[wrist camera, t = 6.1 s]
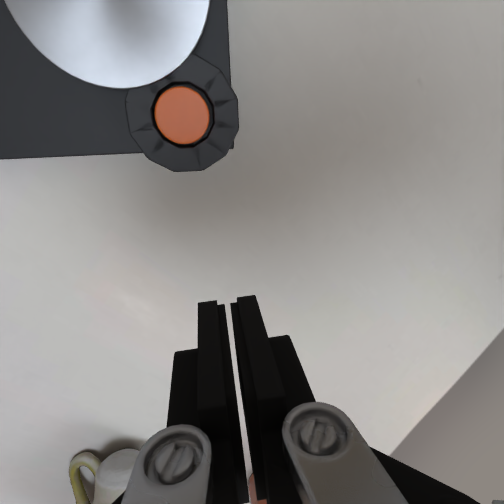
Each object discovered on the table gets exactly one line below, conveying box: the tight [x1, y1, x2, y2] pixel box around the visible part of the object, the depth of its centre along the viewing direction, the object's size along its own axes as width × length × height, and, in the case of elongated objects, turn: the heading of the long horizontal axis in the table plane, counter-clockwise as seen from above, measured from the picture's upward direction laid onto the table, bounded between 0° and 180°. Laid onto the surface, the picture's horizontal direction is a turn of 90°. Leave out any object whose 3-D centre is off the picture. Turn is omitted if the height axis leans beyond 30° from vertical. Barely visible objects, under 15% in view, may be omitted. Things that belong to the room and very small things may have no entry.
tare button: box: [155, 86, 209, 144], centre depth 16 cm, size 2×2×2 cm
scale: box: [0, 0, 239, 172], centre depth 17 cm, size 14×13×4 cm
